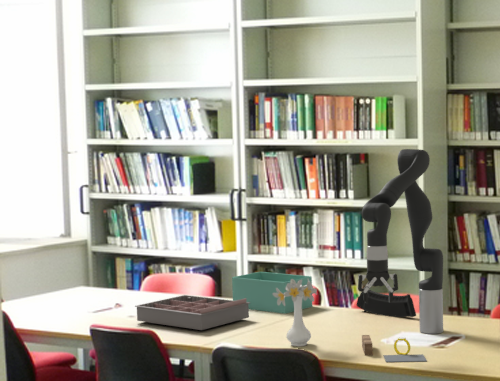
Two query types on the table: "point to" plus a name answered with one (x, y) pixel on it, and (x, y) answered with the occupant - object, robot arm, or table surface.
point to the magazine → (387, 305)
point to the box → (267, 291)
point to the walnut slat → (367, 345)
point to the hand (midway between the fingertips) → (378, 302)
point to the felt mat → (405, 358)
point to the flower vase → (297, 310)
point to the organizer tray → (193, 312)
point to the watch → (402, 340)
